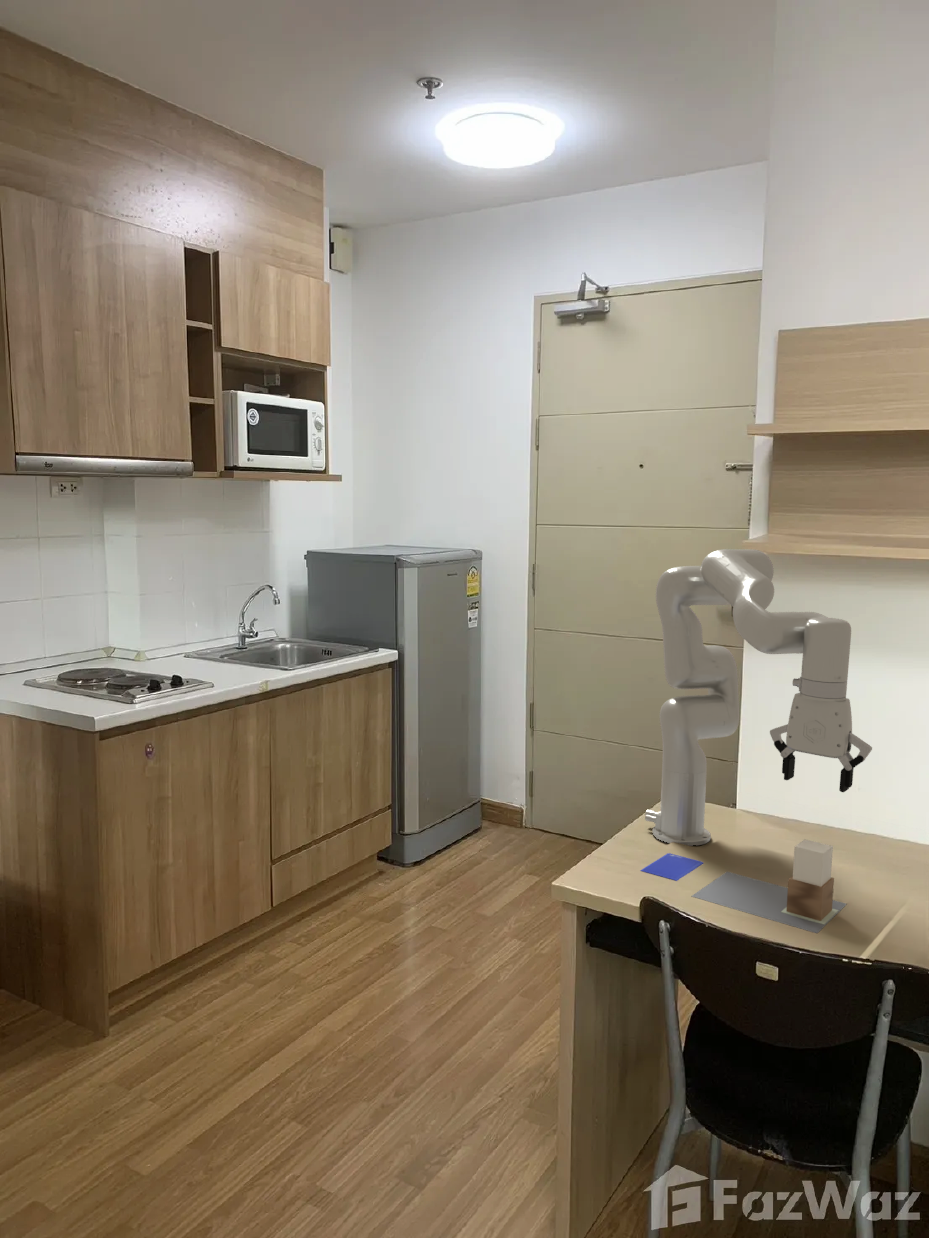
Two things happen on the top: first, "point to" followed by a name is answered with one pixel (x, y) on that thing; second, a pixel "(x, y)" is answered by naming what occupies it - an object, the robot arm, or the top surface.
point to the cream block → (812, 862)
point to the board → (760, 900)
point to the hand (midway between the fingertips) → (815, 784)
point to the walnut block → (810, 899)
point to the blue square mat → (672, 866)
